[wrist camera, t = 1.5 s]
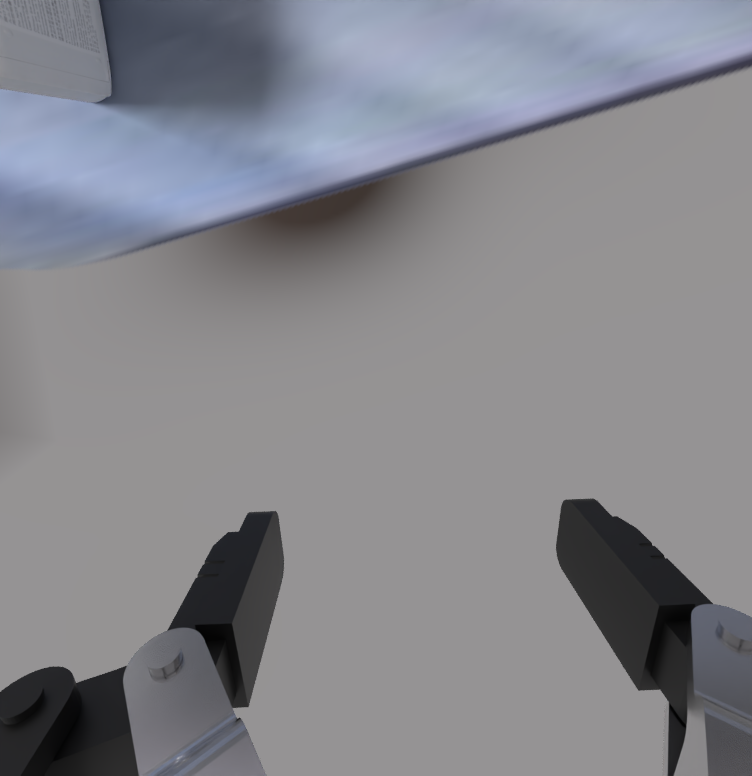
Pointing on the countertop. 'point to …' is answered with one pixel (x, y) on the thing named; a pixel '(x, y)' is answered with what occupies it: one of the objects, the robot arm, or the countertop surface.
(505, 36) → the countertop surface
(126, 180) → the countertop surface
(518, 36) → the countertop surface
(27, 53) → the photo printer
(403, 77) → the countertop surface
